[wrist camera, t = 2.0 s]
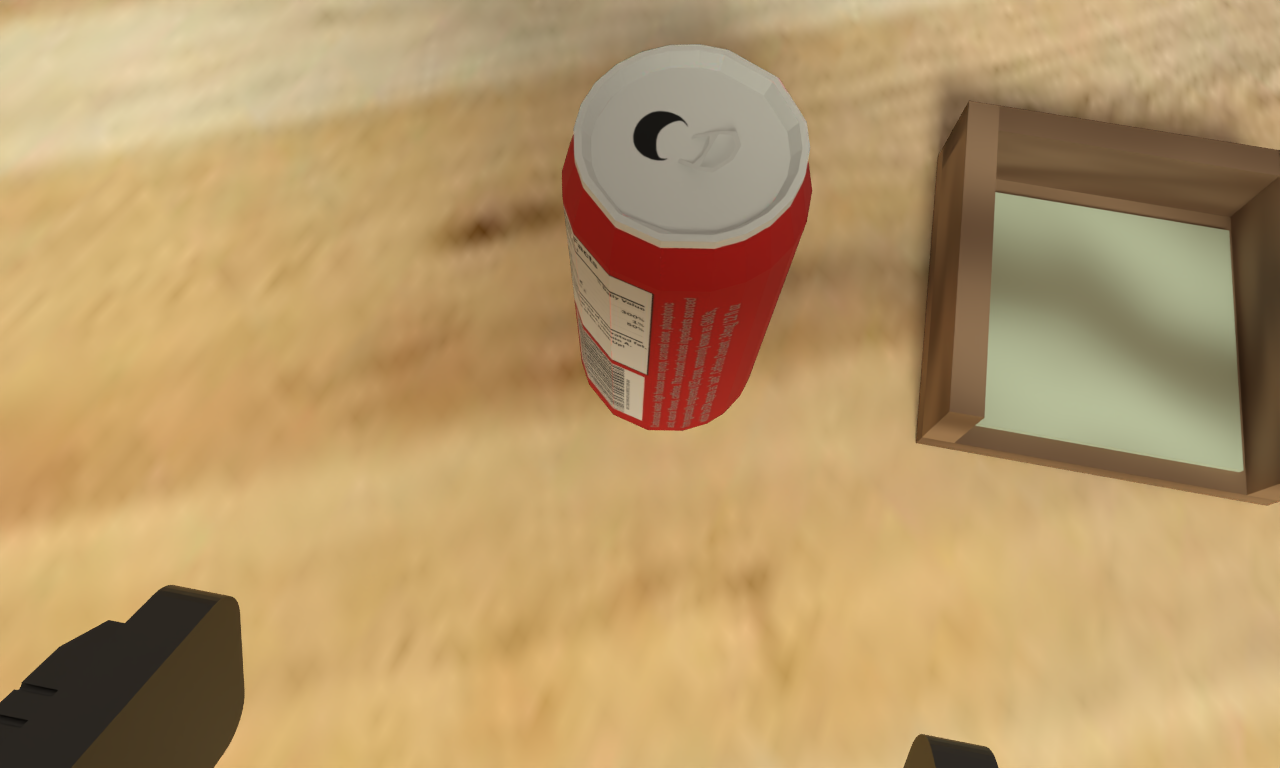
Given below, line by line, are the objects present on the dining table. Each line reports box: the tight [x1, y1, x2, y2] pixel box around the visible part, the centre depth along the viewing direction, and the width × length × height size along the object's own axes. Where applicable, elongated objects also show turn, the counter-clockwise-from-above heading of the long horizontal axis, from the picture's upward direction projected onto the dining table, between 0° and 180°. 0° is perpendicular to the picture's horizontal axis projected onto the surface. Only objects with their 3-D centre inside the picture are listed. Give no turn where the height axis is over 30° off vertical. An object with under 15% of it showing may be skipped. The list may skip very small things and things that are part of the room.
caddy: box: [916, 101, 1280, 505], centre depth 28 cm, size 11×11×3 cm
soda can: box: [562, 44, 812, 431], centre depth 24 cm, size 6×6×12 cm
